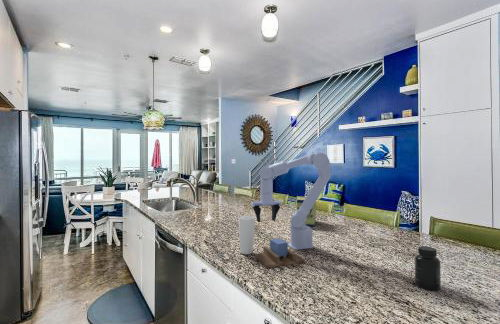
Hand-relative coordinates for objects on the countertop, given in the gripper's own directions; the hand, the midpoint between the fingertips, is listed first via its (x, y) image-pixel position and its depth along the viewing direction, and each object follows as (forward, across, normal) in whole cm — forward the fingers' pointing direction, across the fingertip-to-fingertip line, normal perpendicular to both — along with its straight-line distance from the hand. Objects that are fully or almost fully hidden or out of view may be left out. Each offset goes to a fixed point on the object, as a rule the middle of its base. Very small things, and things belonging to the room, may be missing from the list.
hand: (266, 221), depth 126 cm
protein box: (+11, -38, -27) cm, 48 cm away
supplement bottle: (+10, -32, +55) cm, 65 cm away
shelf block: (+8, +3, +20) cm, 22 cm away
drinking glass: (+11, +13, +9) cm, 19 cm away
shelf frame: (+10, +3, +20) cm, 23 cm away
